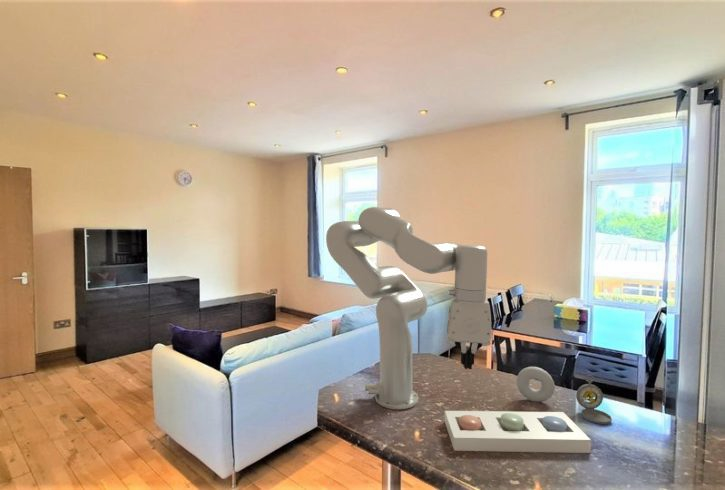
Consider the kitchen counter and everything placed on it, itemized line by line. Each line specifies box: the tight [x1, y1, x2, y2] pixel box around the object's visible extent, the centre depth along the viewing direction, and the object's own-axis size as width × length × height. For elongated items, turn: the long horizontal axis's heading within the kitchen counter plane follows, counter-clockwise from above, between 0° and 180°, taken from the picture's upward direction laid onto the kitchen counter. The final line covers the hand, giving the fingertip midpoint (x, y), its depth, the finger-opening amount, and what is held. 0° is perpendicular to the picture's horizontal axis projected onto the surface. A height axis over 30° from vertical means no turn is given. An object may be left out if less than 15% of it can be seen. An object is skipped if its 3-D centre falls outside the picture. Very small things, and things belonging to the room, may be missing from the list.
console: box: [444, 410, 592, 454], centre depth 86 cm, size 30×12×3 cm, turn 87°
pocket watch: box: [575, 374, 613, 425], centre depth 95 cm, size 8×8×10 cm
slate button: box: [543, 416, 567, 432], centre depth 86 cm, size 5×5×2 cm
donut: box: [516, 366, 556, 403], centre depth 103 cm, size 10×4×10 cm, turn 64°
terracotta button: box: [459, 415, 481, 431], centre depth 87 cm, size 5×5×2 cm
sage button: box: [501, 413, 523, 431], centre depth 86 cm, size 5×5×2 cm
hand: (467, 366), depth 90 cm, fingers closed
